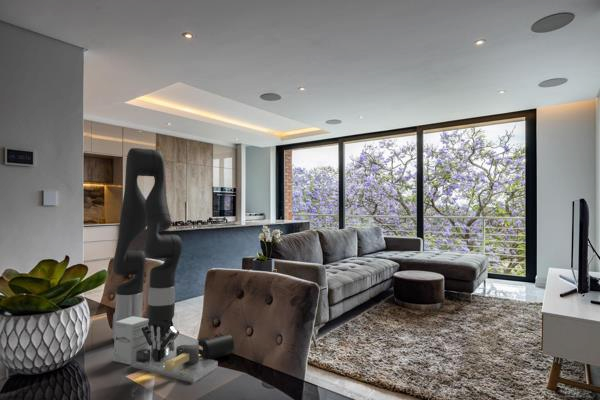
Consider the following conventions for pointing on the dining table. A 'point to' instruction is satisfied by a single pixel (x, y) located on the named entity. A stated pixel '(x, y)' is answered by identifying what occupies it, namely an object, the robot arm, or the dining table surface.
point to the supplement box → (129, 339)
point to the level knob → (184, 357)
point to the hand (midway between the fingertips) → (158, 361)
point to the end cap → (216, 346)
